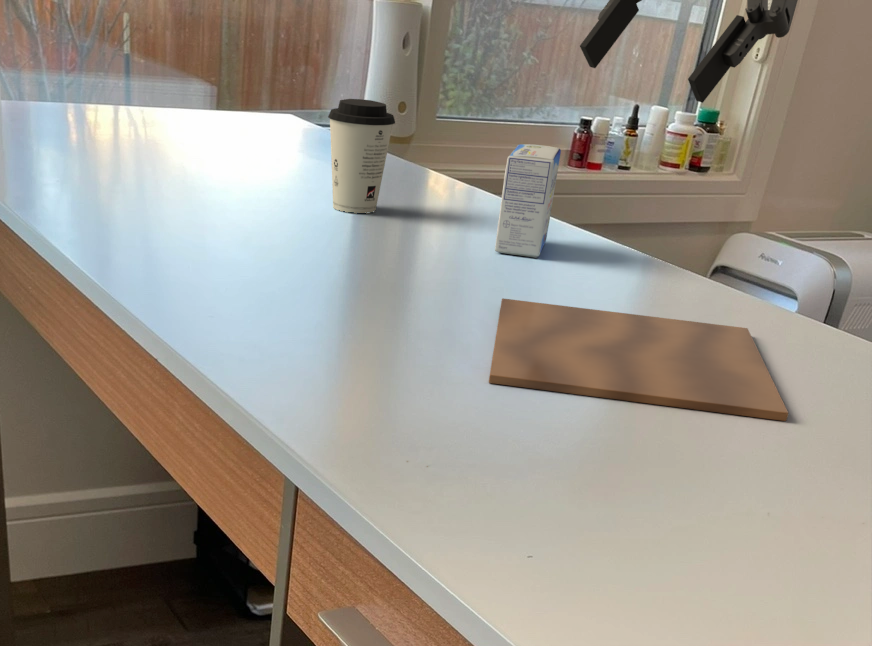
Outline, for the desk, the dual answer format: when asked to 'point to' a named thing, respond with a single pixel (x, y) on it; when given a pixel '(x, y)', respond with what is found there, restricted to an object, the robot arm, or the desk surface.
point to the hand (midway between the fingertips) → (638, 73)
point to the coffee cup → (358, 153)
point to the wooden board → (633, 359)
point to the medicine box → (527, 199)
